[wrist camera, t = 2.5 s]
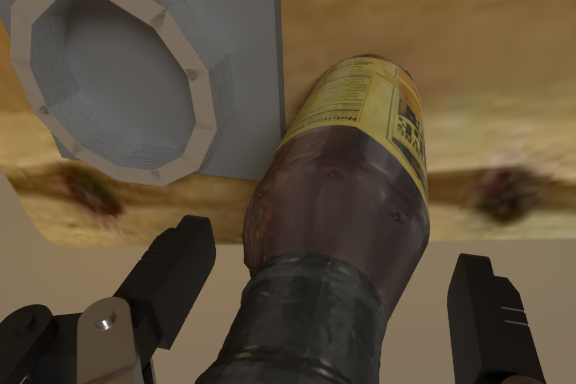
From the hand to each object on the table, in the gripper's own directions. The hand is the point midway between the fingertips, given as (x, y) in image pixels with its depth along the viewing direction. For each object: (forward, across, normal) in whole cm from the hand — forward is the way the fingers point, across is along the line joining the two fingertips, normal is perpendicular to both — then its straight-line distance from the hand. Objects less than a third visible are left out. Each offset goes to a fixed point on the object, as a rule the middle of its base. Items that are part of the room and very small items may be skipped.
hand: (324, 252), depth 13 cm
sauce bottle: (+13, 0, 0) cm, 13 cm away
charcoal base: (+13, +14, -1) cm, 19 cm away
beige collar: (+12, +14, -1) cm, 18 cm away
